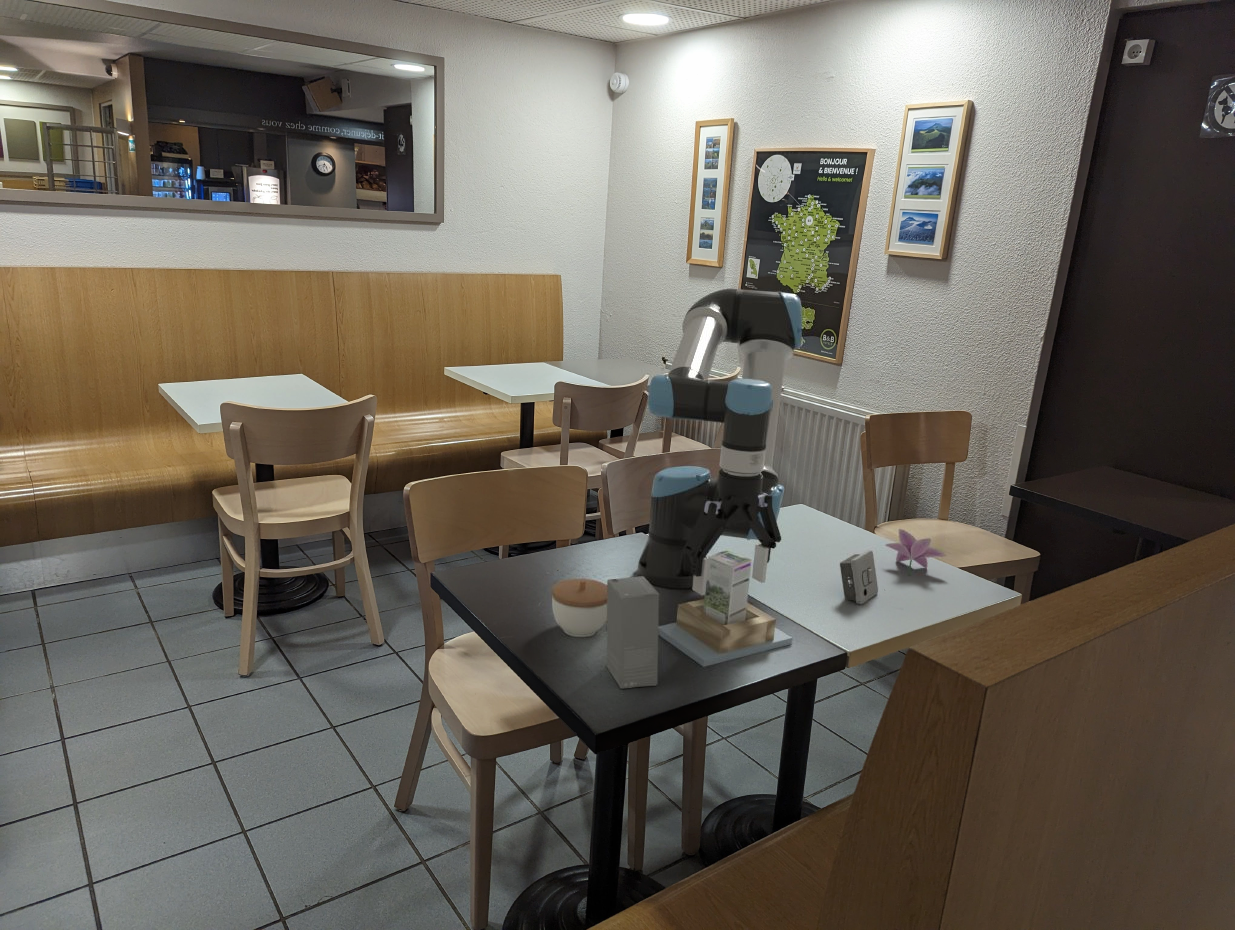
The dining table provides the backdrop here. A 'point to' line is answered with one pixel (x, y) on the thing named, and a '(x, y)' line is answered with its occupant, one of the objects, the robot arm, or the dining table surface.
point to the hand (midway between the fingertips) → (729, 586)
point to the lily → (914, 549)
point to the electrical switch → (859, 577)
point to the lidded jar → (580, 606)
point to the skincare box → (632, 631)
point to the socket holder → (721, 634)
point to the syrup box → (727, 587)
